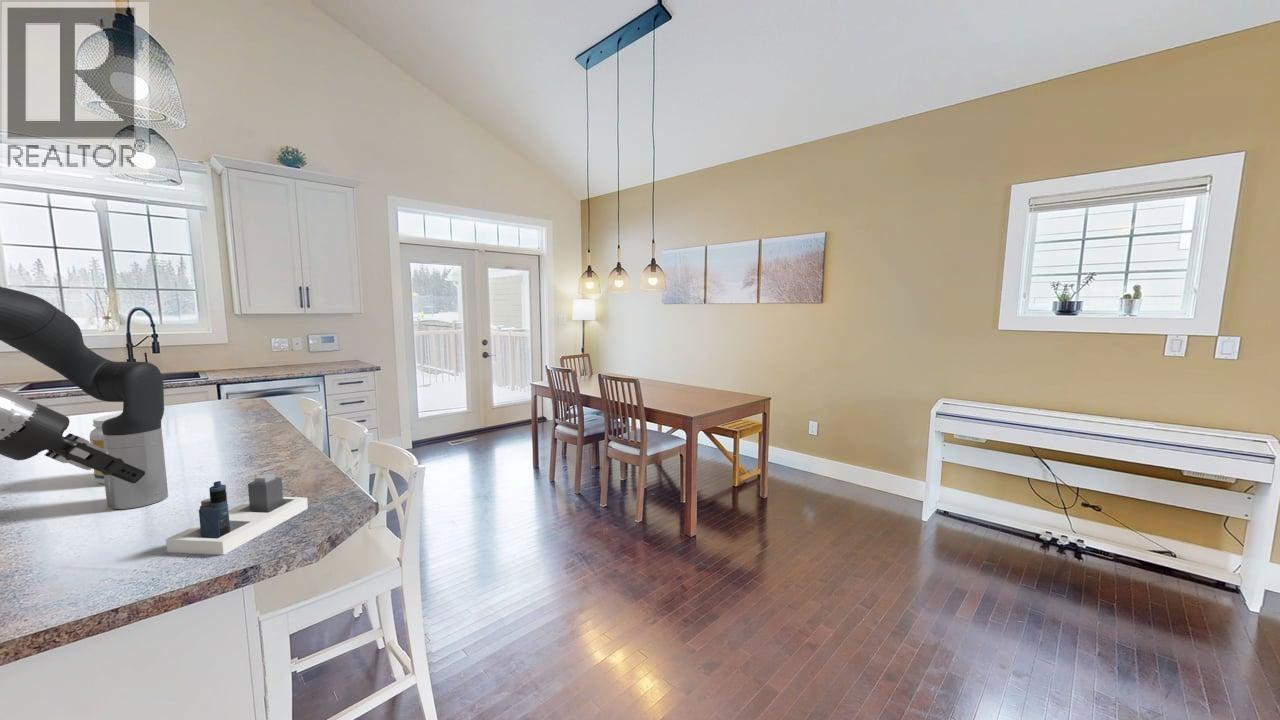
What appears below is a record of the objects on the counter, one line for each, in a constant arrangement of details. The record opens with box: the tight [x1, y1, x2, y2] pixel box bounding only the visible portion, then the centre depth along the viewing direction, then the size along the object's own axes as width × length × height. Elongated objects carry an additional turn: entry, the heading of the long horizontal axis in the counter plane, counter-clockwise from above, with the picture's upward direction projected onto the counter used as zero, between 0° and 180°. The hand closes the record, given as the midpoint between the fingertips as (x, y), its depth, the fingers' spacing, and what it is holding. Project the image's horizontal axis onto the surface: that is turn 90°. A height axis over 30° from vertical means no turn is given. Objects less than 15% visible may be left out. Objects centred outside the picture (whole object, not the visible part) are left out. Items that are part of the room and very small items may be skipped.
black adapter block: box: [247, 473, 284, 513], centre depth 100 cm, size 4×4×9 cm
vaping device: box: [198, 480, 230, 539], centre depth 88 cm, size 3×5×12 cm, turn 78°
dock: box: [165, 496, 309, 556], centre depth 95 cm, size 20×11×4 cm, turn 177°
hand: (127, 473), depth 78 cm, fingers open, 8 cm apart
